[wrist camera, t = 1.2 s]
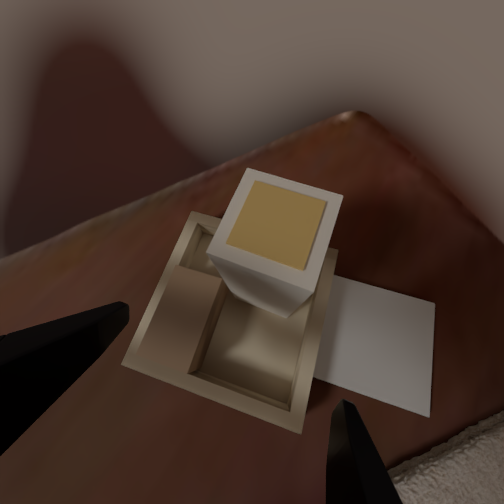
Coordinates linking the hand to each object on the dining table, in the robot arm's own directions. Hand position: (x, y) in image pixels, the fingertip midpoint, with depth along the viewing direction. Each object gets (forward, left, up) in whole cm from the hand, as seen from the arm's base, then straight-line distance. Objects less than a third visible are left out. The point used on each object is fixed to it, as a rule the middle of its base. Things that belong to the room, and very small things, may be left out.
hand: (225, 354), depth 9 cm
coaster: (+4, -10, -12) cm, 17 cm away
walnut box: (+1, +5, -12) cm, 13 cm away
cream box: (+6, 0, -12) cm, 13 cm away
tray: (+3, +2, -12) cm, 13 cm away
